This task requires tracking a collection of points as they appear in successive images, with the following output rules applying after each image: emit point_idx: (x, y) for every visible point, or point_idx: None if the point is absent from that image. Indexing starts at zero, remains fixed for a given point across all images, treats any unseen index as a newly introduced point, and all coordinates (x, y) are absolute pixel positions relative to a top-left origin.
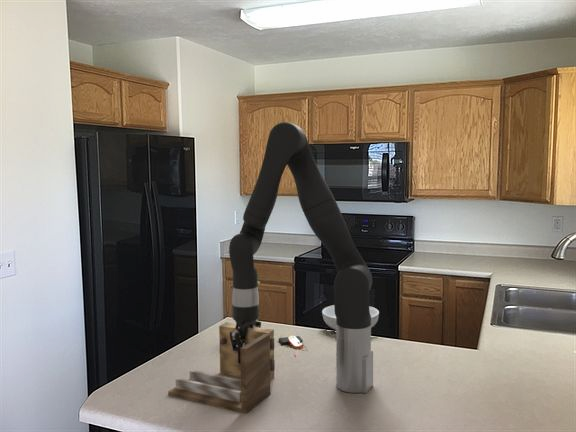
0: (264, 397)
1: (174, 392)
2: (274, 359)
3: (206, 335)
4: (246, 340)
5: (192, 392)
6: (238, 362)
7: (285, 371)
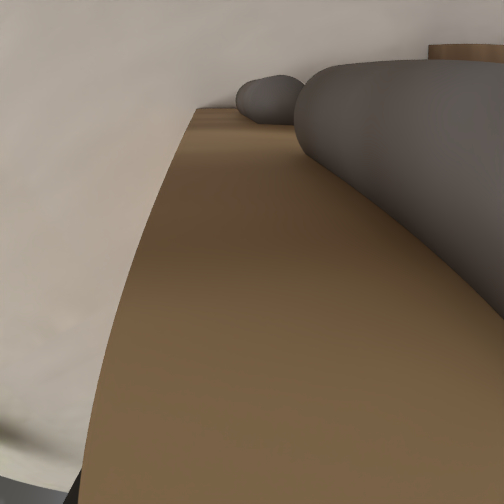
0: None
1: None
2: (263, 80)
3: (51, 484)
4: None
5: None
6: None
7: (55, 106)
